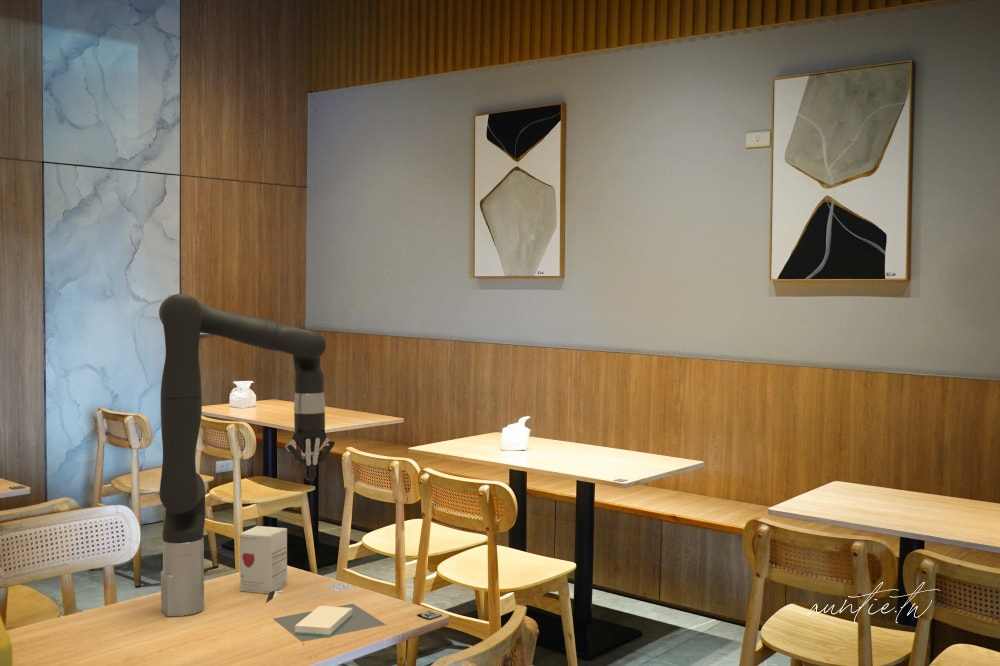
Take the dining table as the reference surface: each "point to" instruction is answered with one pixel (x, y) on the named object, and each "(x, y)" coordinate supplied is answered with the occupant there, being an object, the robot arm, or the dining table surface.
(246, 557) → the supplement box
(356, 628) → the mat
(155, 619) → the dining table surface
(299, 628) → the tile
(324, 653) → the dining table surface
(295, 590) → the dining table surface
